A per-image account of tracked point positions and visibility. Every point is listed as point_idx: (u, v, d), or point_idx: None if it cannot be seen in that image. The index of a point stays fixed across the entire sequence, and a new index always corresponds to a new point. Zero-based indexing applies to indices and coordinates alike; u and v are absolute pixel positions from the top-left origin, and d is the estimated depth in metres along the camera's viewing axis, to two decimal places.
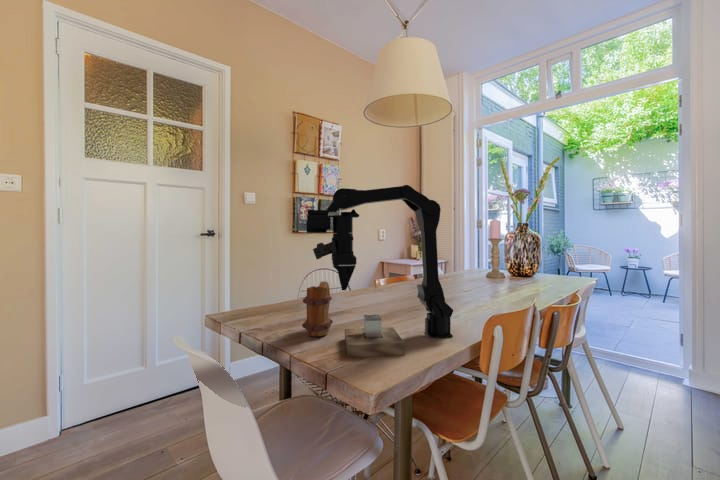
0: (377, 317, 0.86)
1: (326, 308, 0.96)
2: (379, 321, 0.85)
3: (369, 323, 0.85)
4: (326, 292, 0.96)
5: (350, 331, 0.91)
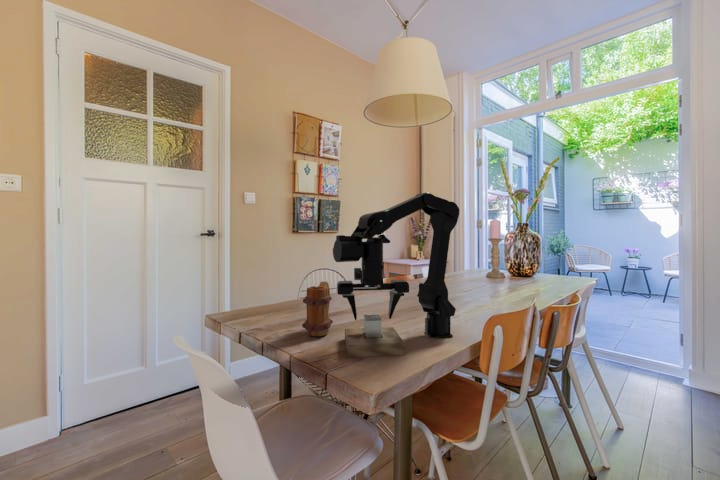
0: (377, 317, 0.86)
1: (326, 308, 0.96)
2: (379, 321, 0.85)
3: (369, 323, 0.85)
4: (326, 292, 0.96)
5: (350, 331, 0.91)
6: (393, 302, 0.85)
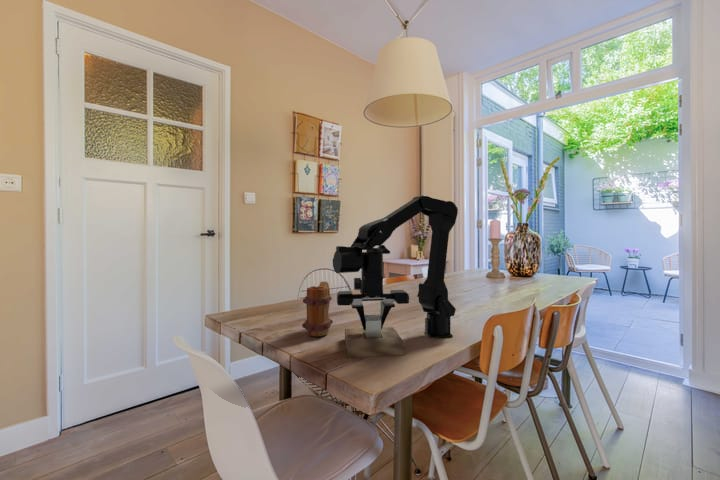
0: (377, 317, 0.86)
1: (326, 308, 0.96)
2: (379, 321, 0.85)
3: (369, 323, 0.85)
4: (326, 292, 0.96)
5: (350, 331, 0.91)
6: (384, 313, 0.85)
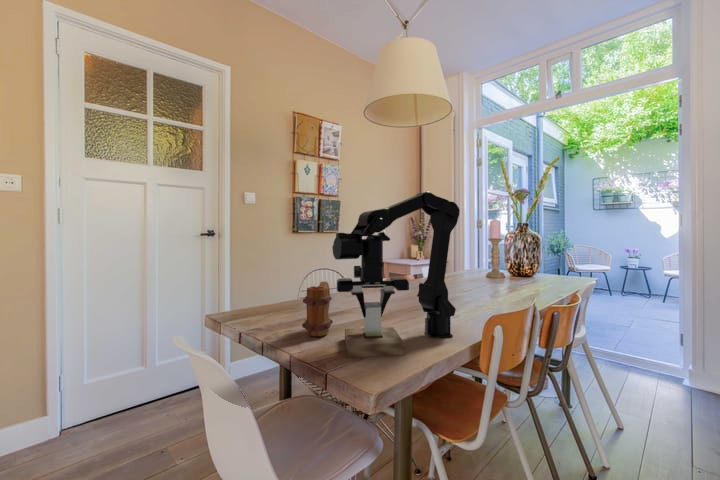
0: (377, 304, 0.86)
1: (326, 308, 0.96)
2: (379, 308, 0.85)
3: (369, 310, 0.85)
4: (326, 292, 0.96)
5: (350, 331, 0.91)
6: (383, 300, 0.85)
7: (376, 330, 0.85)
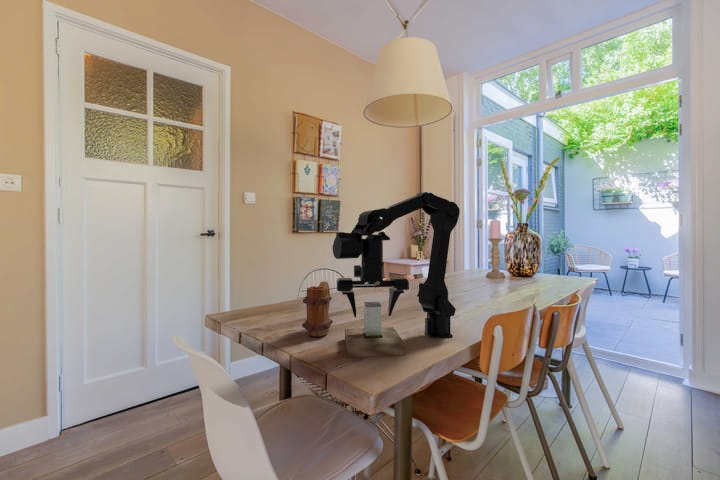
0: (377, 304, 0.86)
1: (326, 308, 0.96)
2: (379, 307, 0.85)
3: (369, 310, 0.85)
4: (326, 292, 0.96)
5: (350, 331, 0.91)
6: (393, 299, 0.85)
7: (376, 330, 0.85)
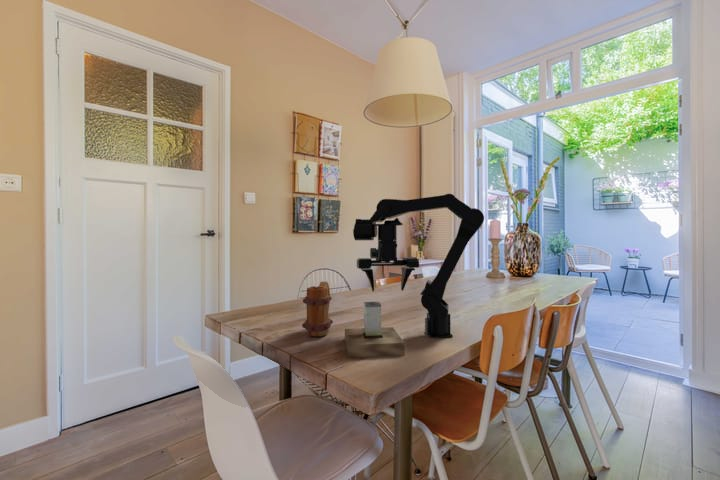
0: (377, 304, 0.86)
1: (326, 308, 0.96)
2: (379, 307, 0.85)
3: (369, 310, 0.85)
4: (326, 292, 0.96)
5: (350, 331, 0.91)
6: (405, 276, 0.99)
7: (376, 330, 0.85)
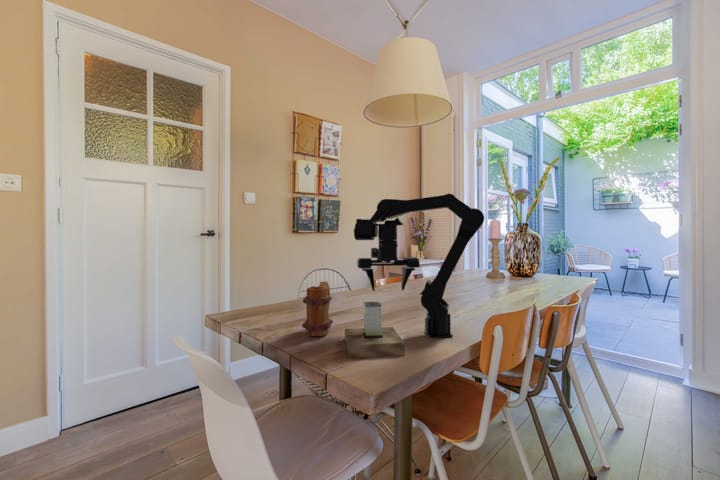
0: (377, 304, 0.86)
1: (326, 308, 0.96)
2: (379, 307, 0.85)
3: (369, 310, 0.85)
4: (326, 292, 0.96)
5: (350, 331, 0.91)
6: (405, 275, 1.00)
7: (376, 330, 0.85)
